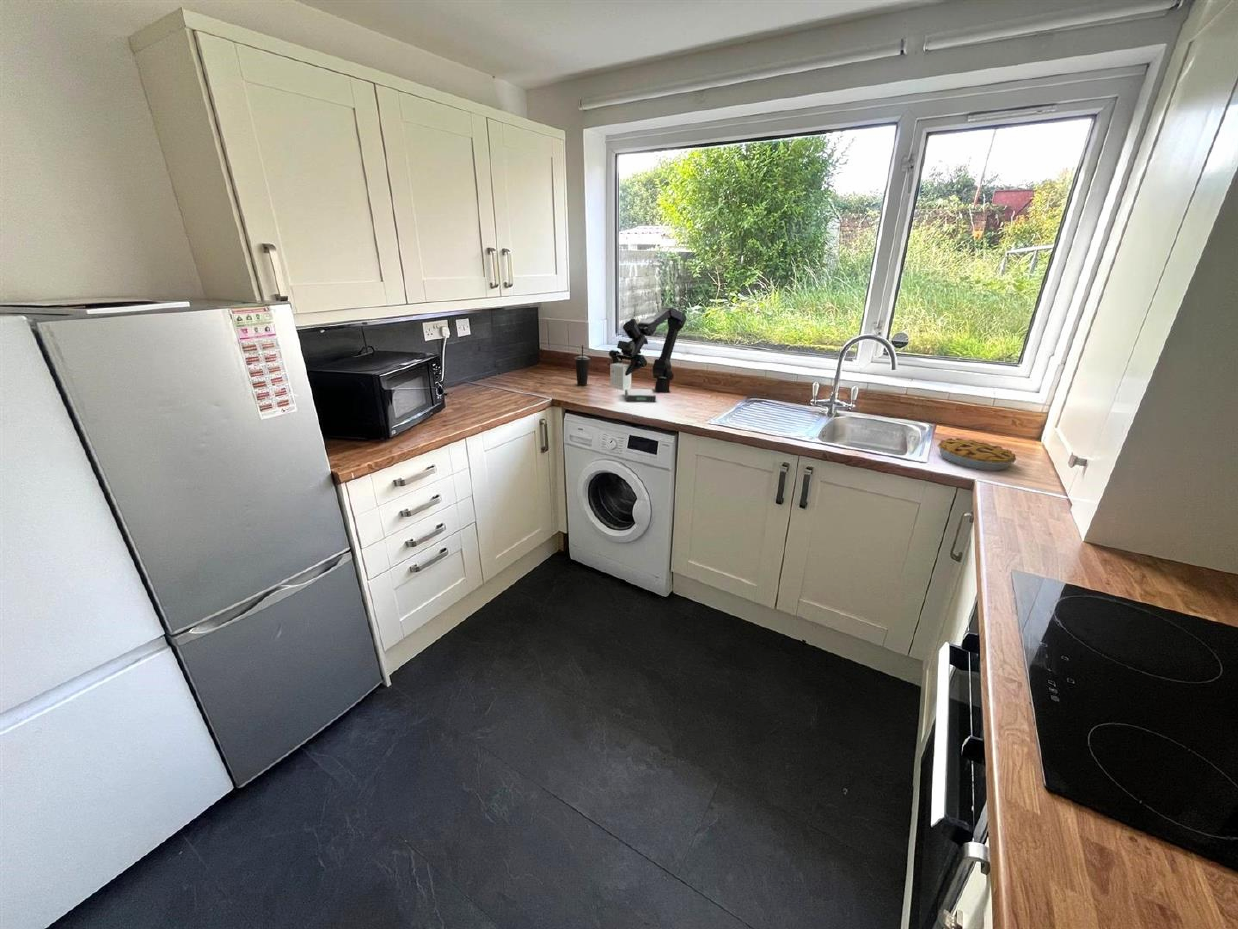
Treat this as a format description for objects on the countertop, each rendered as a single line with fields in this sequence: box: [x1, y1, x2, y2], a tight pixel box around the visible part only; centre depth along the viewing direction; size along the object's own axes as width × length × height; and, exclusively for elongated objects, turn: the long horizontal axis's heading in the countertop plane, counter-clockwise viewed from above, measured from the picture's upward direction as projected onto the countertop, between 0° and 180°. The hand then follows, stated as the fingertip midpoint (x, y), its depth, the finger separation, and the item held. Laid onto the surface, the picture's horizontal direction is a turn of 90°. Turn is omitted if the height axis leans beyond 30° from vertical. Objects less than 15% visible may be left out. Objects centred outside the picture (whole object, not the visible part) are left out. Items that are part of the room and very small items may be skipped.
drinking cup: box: [574, 344, 591, 387], centre depth 251 cm, size 8×8×20 cm
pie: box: [937, 437, 1017, 472], centre depth 166 cm, size 22×22×5 cm
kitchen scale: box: [624, 388, 657, 403], centre depth 232 cm, size 13×13×3 cm
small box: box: [609, 362, 632, 391], centre depth 221 cm, size 8×6×10 cm
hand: (618, 373), depth 219 cm, fingers closed on small box, 8 cm apart
